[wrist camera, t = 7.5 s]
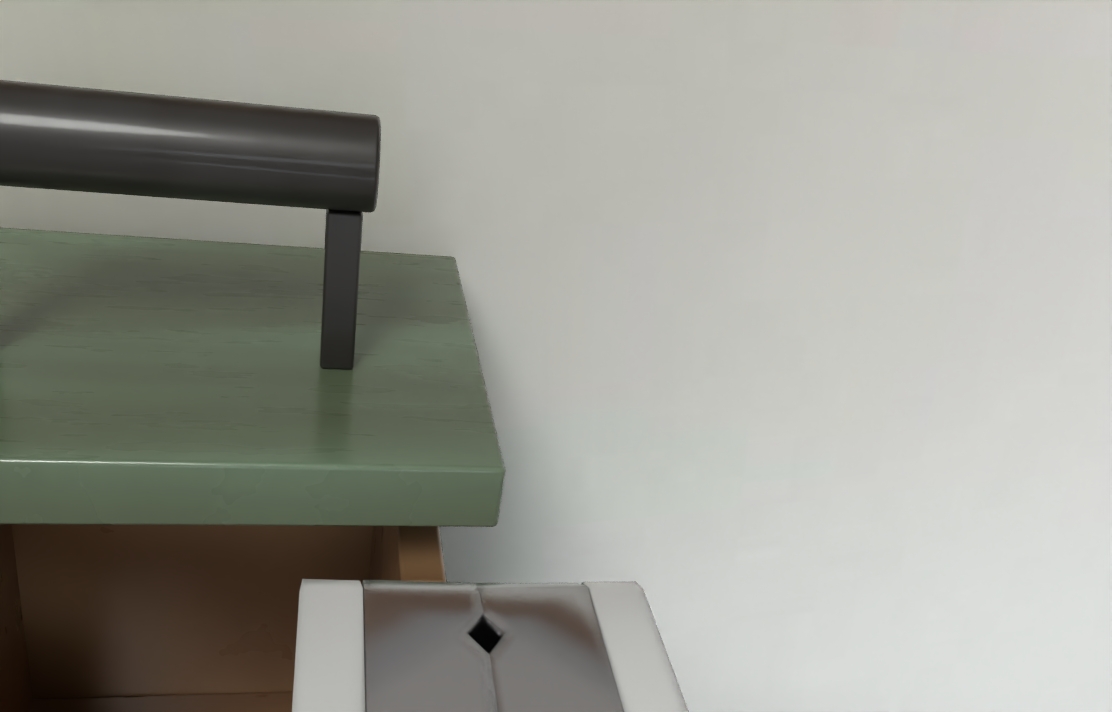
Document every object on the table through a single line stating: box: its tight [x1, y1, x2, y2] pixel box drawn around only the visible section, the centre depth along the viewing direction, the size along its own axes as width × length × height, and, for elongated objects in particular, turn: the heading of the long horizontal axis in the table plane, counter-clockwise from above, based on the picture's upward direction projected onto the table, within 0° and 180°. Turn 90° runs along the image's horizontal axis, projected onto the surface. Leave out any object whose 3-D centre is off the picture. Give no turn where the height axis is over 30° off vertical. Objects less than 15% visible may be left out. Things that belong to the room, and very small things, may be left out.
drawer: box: [0, 80, 505, 712], centre depth 21 cm, size 18×11×9 cm, turn 172°
